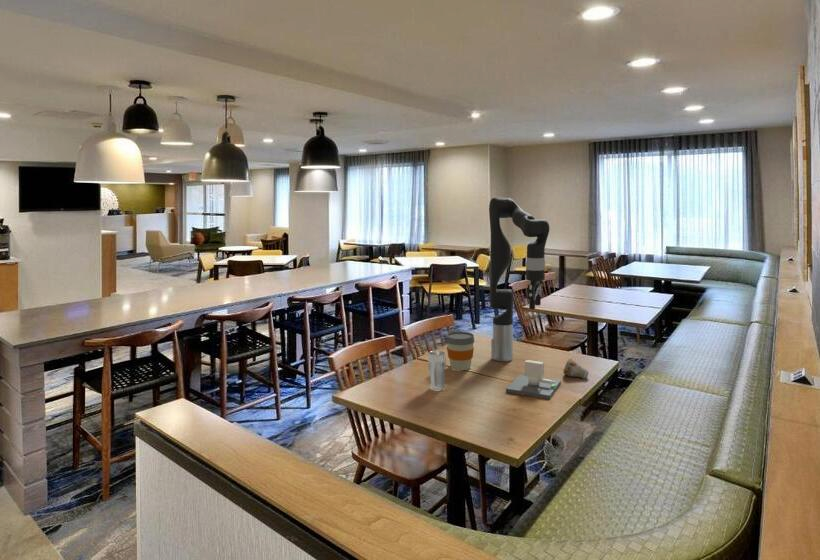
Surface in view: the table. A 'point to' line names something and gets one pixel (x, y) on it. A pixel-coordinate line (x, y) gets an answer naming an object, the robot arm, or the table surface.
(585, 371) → the mug
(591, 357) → the table surface
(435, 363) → the beer glass
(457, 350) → the reusable coffee cup
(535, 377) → the peg knob
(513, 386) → the dial board
